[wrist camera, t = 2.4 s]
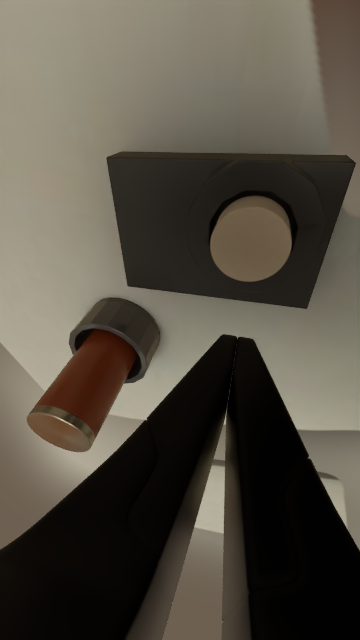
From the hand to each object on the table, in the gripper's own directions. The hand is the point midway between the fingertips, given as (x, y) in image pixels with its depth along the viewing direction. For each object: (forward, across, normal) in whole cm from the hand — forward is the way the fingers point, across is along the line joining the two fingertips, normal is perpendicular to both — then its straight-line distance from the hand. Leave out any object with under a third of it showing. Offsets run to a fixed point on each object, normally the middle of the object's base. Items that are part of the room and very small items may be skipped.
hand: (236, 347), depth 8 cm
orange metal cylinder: (+11, +10, +11) cm, 19 cm away
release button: (+8, 0, 0) cm, 8 cm away
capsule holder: (+11, +10, +11) cm, 19 cm away
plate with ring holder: (+11, +2, +1) cm, 12 cm away
